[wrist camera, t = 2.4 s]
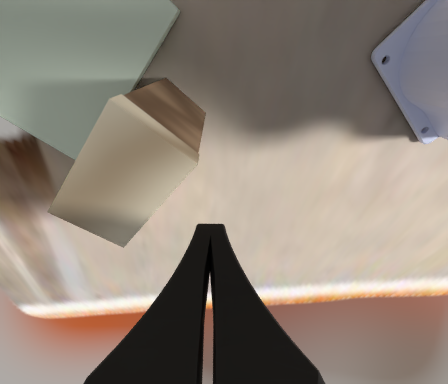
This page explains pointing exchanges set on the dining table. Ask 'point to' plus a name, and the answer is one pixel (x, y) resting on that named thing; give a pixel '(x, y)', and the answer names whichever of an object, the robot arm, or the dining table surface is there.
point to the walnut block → (131, 161)
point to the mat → (74, 61)
